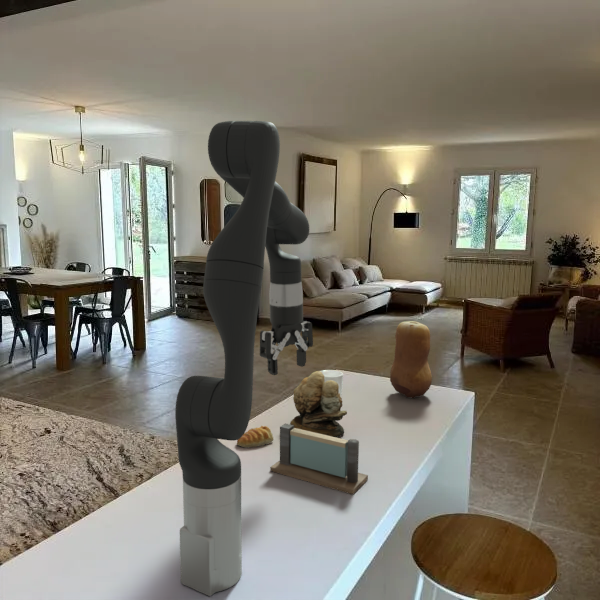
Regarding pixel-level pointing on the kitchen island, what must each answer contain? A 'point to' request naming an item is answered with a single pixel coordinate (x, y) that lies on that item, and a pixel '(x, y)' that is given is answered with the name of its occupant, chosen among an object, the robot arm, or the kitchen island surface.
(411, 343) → the butternut squash
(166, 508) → the kitchen island surface
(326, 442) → the gate panel
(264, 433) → the pastry
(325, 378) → the white cup
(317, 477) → the gate frame
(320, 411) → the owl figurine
